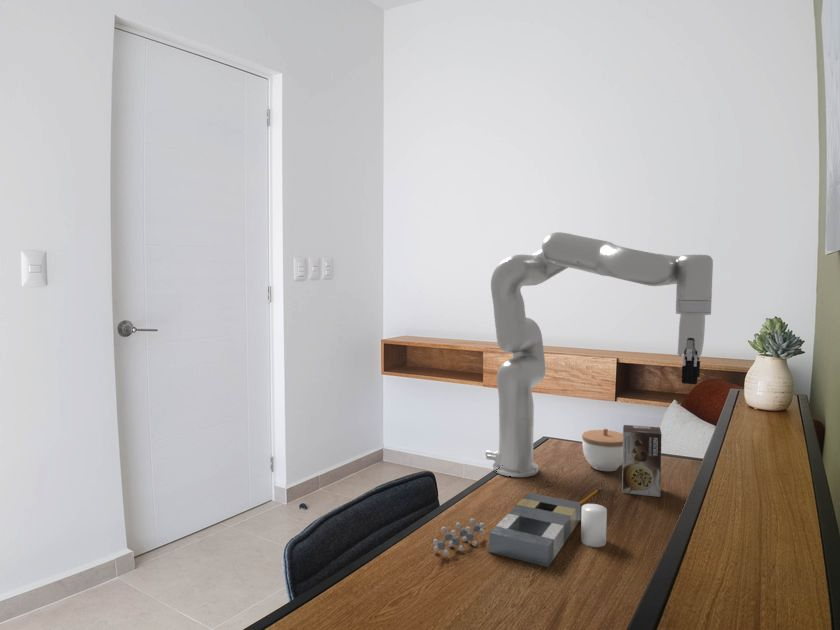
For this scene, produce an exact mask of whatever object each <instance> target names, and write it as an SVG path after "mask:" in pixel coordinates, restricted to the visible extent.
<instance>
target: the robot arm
mask: <svg viewBox="0 0 840 630" xmlns="http://www.w3.org/2000/svg"><path fill="white" fill-rule="evenodd" d="M713 263H714V261H713V257H712V256H711V255H708V254H683V255H680V256H679V255H671V254H670V255H669V254H662V253H653V252H650V251H649V252H648V251H643V250H639V249H632V248H630V247H629V248H628V247H623V246H621V245H617V244H616V243H615V244H614V243H613V242H611V241H607V240H604V239H597V238H592V237H588V236H587V237H586V236H583V235H582V236H581V235H577V234H572V233H567V232H562V231H559V232H558V231H557V232H552V233H550V234H549V235H547V236H546V237H545V238H544V239H543V242H542V244H541V249H540V250H538V251H537V252H535V253H533V254H532V255H531V254H530V255H529V254H515V255H510V256H509V257H506V258H505V259H503V260H501V262H499V264H497V266H496V267H495V269H494V271H493V273H492V275H491V278H490V290H491V299H492V304H493V316H494V317H493V318H494V326H495V334H496V335H495V336H496V342H497V344H498V347H499V349H501V350H502V352H504V353H508V354H512V358H509V359H507V360H505V361H503V363H502V364H500V366H499V368H498V371H497V373H496V385H497V391H498V393H497V394H498V411H499V412H498V450H497V451H493V450H486V451H485V458H486V460H491V461H494V463H493V465H492V470H493V471H494V472H495V473H496V474H499V475H502V476H506V477H509V476H511V478H512V477H513V478H527V477H532V476H534V475H537V474H538V473H539V469H540V468H539V465H538V464H537V463H535V462H534V424H535V423H534V421H535V420H534V416H535V414H534V412H535V409H534V408H535V407H534V398H533V392H532V389H533V388H535V387H536V386H538V385H540V384H541V383H542V382H543V380H544V378H545V376H546V360H545V352H544V351H545V350H544V343H543V342H544V341H543V335H542V331H541V329H540V327H539V324H538V323H537V322H536V321H535V320H534V319H532V318H529V317H527V316H526V310H525V307H526V306H525V301H524V298H523V295H522V293H521V288H522V287H524V286H526V287H527V286H537V285H540V284H542V283H544V282H546V281H548V280H550V279H551V278H553V277H555V276H556V275H558V274H561V273H562V272H564V271H565V270H567V269H568V268H569V269H574V270H578V271H583V272H586V273H587V272H588V273H591V274H597V275H599V276H602V277H610V278H614V279H618V280H623V281H627V282H631V283H636V284H640V285H643V286H648V287H649V286H650V287H660V286H661V287H662V286H669V285H670V286H671V285H676V289H675V290H676V295H675V297H676V298H675V315H676V314H677V315H680V316H679V323H678V341H677V356H678V357H681V356H682V355H683V362H682V363H683V364H682V365H681V383H682V384H685V385H687V384H688V385H697V384H698V378H700V376H701V375H700V372H701V360H700V357H701V356H702V353H703V348H704V341H705V330H706V329H705V325H706V316H710V315H712V298H713V297H712V296H713V273H714V271H713V270H714V264H713ZM502 465H503V466H502ZM499 467H500V468H499ZM498 468H499V469H498ZM496 469H498V470H496ZM495 470H496V471H497V472H496V471H495Z"/></svg>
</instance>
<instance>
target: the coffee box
mask: <svg viewBox="0 0 840 630" xmlns="http://www.w3.org/2000/svg"><path fill="white" fill-rule="evenodd" d="M622 428H623V429H622V434H623V464H622V473H621V474H622V477H621V478H622V481H621V483H622V484H621V487H622V488H621V493H622V494H628V495H629V494H630V495H638V496H647V497H658V498H660V497H661V490H662V489H661V482H662V480H661V479H662V477H661V476H662V474H661V473H662V471H661V470H662V435H663V434H662V431H661V427H659V426H645V425H643V426H642V425H630V424H623V427H622Z"/></svg>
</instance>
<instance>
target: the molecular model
mask: <svg viewBox="0 0 840 630" xmlns="http://www.w3.org/2000/svg"><path fill="white" fill-rule="evenodd" d="M475 522H476V520H475V518H470V519H469V523H470V524H473V527H472V529H473V531H472V532H470V531H471V527H470V526H466V527H462V524H461V523H460V522H458V521H457V522H456V524H455V527H456V528H458V529H459V535H458V536H456V535H457V534H456V533H457V531H456V530H455V529H452V530H451V531H447V527H446V526H442V527H441V528H440V529H441V530H440V531H441V532H442V533H444V540H443V541H442V540H440V541H439V540H438V538H434V539H433V541H432V543H433V544H434V545H435V546H434V547H433V551H434V552H439V551H440V550H441V551H443V552H442V553H443V556H448V555H449V550H447V549H445V548H446V541H449V542H448V546H449V547H454V546H458V548H457V549H458V551H460V552H462V551H463V550H464V546H463V545H460V542H461V539H460V537H462V541H463V542H465V543H467V542H468V541H469V542H470V541H471V545H472V547H477V546H478V542H477V541H476V540H474V537H475V535H474V533H479V534H480V535H482V534H484V533H485V531H484V528H485V523H484V522H480V523H475Z"/></svg>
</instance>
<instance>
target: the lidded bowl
mask: <svg viewBox="0 0 840 630" xmlns="http://www.w3.org/2000/svg"><path fill="white" fill-rule="evenodd" d="M581 439H582V451H583V456H584V458H585V459H586V461H587V463H589V464H590V465H591V468H593V470H597V471H601V472H614V471H617V470H619V469H618V468H619V467H621V466H623V432H619V431H613V430H609V429H608V428H602V429H592V430H586V431H584V432H583V433H581Z"/></svg>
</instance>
